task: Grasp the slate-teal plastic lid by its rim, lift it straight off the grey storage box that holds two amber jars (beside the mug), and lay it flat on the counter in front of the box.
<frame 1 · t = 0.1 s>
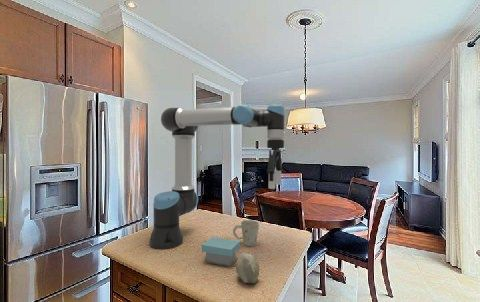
hand: (275, 186, 111), 28 cm above the worktop, fingers open, 13 cm apart
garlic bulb: (247, 280, 84), on the worktop
mug: (245, 243, 116), on the worktop
box: (220, 260, 98), on the worktop
lid: (221, 249, 98), point 4 cm above the worktop, touching box
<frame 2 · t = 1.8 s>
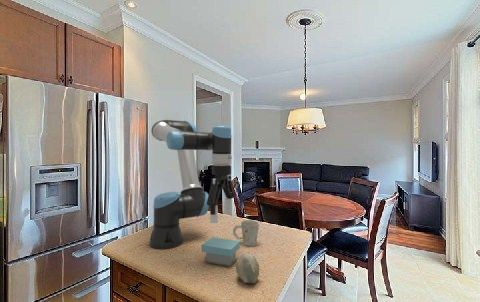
hand: (221, 218, 97), 17 cm above the worktop, fingers open, 13 cm apart
nothing on the worktop moved.
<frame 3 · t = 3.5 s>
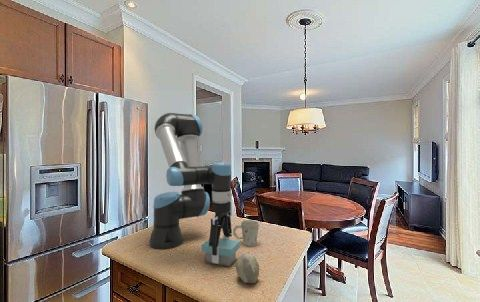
hand: (221, 257, 98), 1 cm above the worktop, fingers closed on lid, 9 cm apart
lid: (221, 249, 98), point 5 cm above the worktop, touching box, gripper
everything else where it was.
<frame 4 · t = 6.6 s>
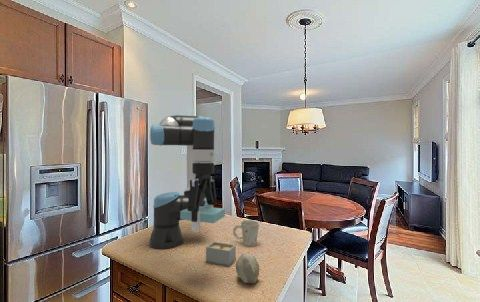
hand: (202, 226, 86), 18 cm above the worktop, fingers closed on lid, 9 cm apart
lid: (203, 217, 85), point 21 cm above the worktop, touching gripper
everything else where it was.
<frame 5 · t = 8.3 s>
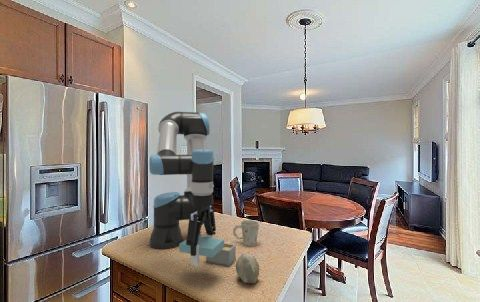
hand: (202, 258, 85), 7 cm above the worktop, fingers closed on lid, 9 cm apart
lid: (202, 249, 85), point 10 cm above the worktop, touching gripper
everything else where it was.
when the fingers open (0 cm above the worktop, at t = 9.8 s): lid drops 4 cm, on the worktop.
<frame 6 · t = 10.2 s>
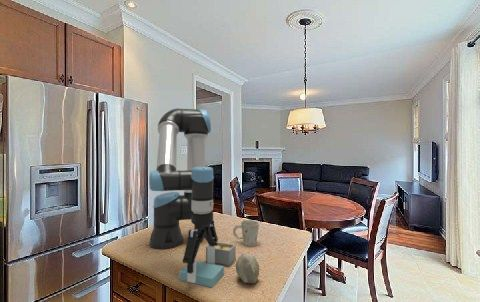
hand: (201, 272, 85), 2 cm above the worktop, fingers open, 13 cm apart
lid: (202, 276, 85), on the worktop
everything else where it was.
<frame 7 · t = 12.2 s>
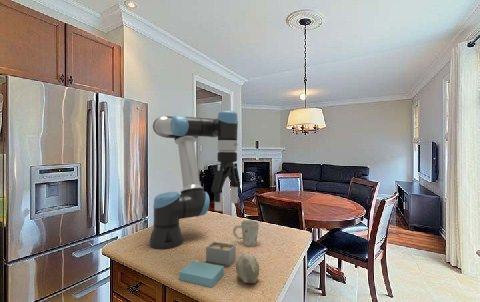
hand: (226, 206, 95), 22 cm above the worktop, fingers open, 13 cm apart
nothing on the worktop moved.
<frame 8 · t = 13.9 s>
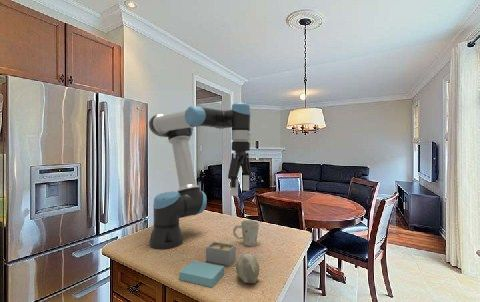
hand: (240, 192, 101), 27 cm above the worktop, fingers open, 13 cm apart
nothing on the worktop moved.
at the end: lid on the worktop; lid tilted 0°; lid inside the target area (0.7 cm from its centre), on the worktop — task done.
